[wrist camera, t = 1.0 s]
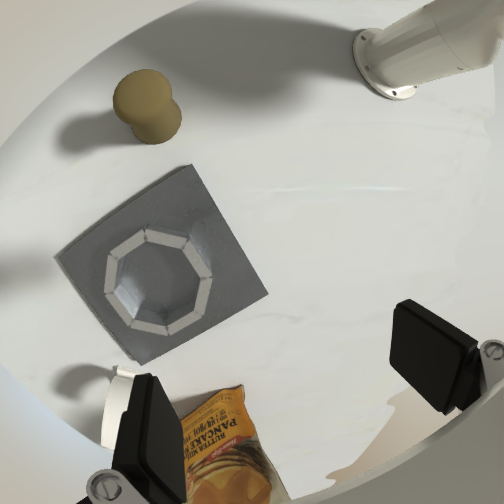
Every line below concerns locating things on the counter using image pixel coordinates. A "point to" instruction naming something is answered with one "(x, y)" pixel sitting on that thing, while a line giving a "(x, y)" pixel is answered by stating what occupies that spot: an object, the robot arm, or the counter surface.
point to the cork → (147, 106)
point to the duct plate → (164, 268)
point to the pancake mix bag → (227, 455)
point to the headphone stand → (116, 404)
